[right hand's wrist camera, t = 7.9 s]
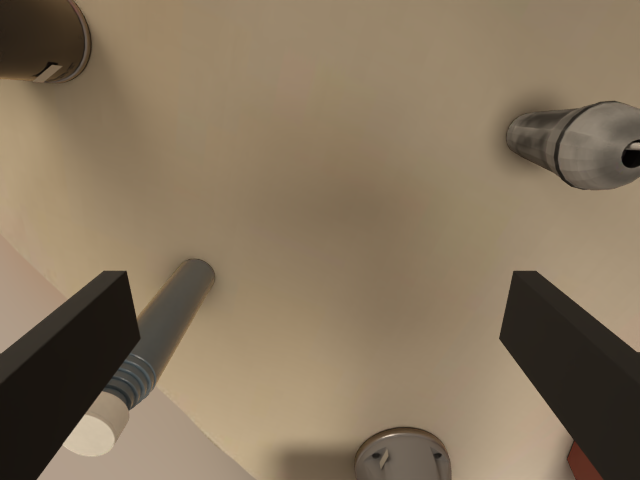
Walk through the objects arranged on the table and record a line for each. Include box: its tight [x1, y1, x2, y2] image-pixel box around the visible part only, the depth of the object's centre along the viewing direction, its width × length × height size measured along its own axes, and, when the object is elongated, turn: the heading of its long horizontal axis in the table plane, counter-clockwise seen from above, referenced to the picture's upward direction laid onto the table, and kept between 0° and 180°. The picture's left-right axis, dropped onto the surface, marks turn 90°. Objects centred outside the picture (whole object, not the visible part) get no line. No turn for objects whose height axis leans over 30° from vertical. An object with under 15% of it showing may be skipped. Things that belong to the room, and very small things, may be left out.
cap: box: [63, 391, 129, 457], centre depth 26 cm, size 4×4×2 cm
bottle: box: [103, 259, 215, 410], centre depth 37 cm, size 5×5×24 cm
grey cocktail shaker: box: [506, 101, 640, 190], centre depth 32 cm, size 7×7×20 cm
